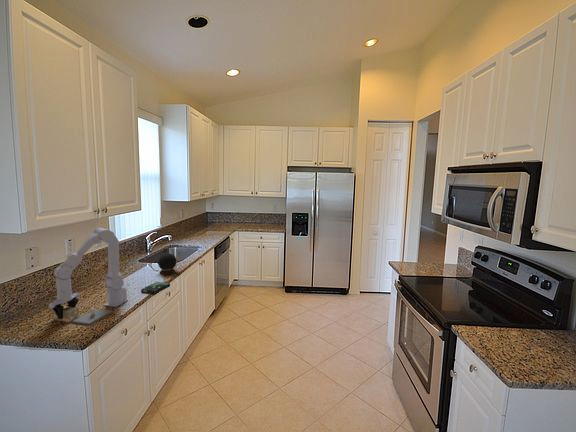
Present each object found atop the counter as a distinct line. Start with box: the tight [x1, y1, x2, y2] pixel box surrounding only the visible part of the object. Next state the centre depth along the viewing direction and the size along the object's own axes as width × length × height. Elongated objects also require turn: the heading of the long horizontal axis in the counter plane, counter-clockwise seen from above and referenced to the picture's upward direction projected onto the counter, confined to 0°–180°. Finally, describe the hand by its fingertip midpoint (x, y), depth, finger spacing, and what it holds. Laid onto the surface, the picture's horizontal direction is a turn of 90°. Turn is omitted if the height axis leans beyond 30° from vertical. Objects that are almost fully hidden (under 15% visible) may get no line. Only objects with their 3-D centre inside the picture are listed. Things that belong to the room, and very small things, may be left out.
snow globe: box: [157, 252, 178, 276], centre depth 223 cm, size 13×13×15 cm
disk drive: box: [140, 281, 171, 295], centre depth 190 cm, size 10×3×15 cm
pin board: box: [71, 307, 113, 326], centre depth 150 cm, size 14×10×5 cm
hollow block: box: [52, 305, 80, 323], centre depth 148 cm, size 6×9×5 cm, turn 78°
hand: (66, 315), depth 148 cm, fingers closed on hollow block, 6 cm apart
